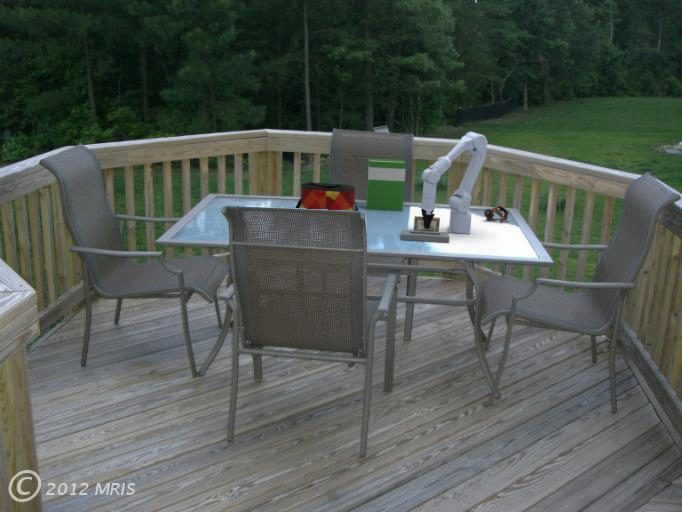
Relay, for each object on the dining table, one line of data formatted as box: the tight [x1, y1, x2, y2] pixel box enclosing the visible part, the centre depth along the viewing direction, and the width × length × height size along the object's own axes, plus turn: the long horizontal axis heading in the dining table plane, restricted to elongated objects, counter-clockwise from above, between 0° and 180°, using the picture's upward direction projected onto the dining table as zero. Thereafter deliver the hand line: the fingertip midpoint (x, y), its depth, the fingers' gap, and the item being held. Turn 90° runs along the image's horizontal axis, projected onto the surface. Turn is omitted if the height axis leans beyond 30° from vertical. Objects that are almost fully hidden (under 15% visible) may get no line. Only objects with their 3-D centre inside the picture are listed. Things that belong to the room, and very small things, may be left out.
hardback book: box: [365, 158, 407, 212], centre depth 366 cm, size 18×7×24 cm, turn 90°
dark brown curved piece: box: [483, 205, 509, 223], centre depth 354 cm, size 12×10×8 cm
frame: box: [413, 215, 441, 232], centre depth 327 cm, size 11×2×7 cm, turn 86°
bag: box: [294, 181, 359, 212], centre depth 344 cm, size 30×14×16 cm, turn 83°
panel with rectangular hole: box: [400, 229, 450, 244], centre depth 317 cm, size 20×8×2 cm, turn 86°
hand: (426, 226), depth 327 cm, fingers open, 5 cm apart
